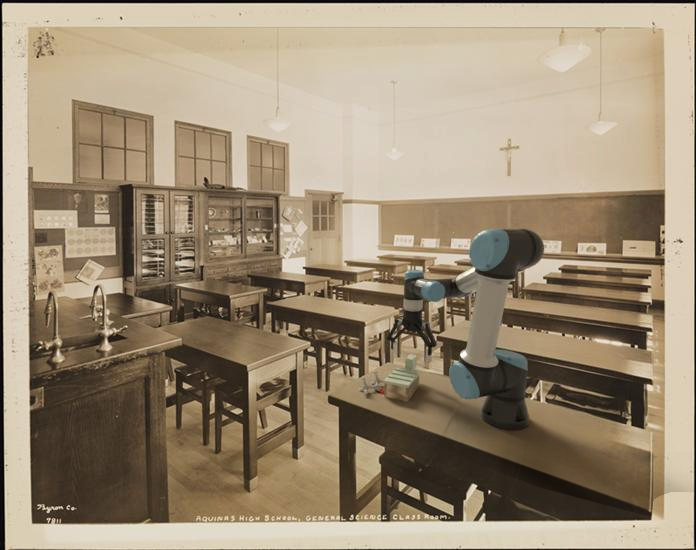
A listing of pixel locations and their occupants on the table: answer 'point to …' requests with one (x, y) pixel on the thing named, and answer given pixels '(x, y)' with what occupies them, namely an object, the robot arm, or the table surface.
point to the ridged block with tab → (404, 373)
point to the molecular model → (376, 386)
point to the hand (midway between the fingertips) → (410, 359)
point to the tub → (401, 391)
